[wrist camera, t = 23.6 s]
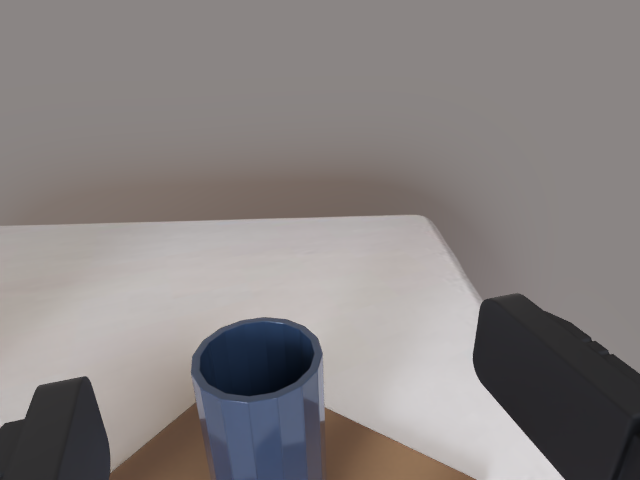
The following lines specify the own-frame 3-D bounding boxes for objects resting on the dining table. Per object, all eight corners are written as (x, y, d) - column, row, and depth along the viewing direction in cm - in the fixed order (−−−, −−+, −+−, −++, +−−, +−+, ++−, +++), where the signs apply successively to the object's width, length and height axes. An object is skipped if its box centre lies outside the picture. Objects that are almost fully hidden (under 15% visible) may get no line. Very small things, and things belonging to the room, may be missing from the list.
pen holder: (196, 521, 26) (163, 368, 22) (266, 445, 31) (251, 305, 26) (282, 586, 23) (265, 423, 18) (346, 490, 28) (345, 341, 23)
